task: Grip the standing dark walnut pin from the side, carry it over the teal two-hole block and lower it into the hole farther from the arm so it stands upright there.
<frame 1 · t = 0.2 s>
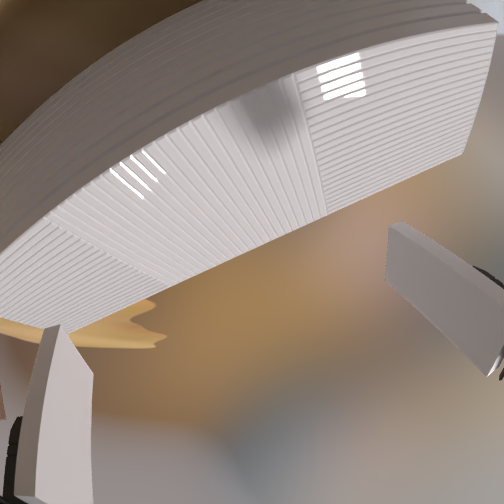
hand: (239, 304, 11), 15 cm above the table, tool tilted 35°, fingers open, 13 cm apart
stack of papers: (172, 89, 19), on the table
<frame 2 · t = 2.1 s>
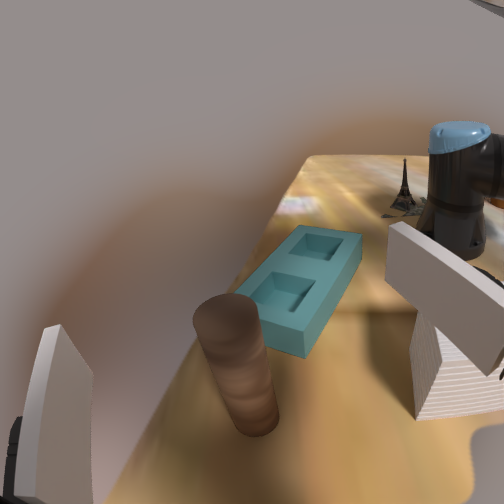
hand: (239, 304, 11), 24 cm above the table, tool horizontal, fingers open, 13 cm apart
eiffel tower figurine: (403, 209, 70), on the table
bore block: (303, 292, 50), on the table
disposable coffee cup: (500, 204, 63), on the table
walnut pin: (256, 417, 32), on the table
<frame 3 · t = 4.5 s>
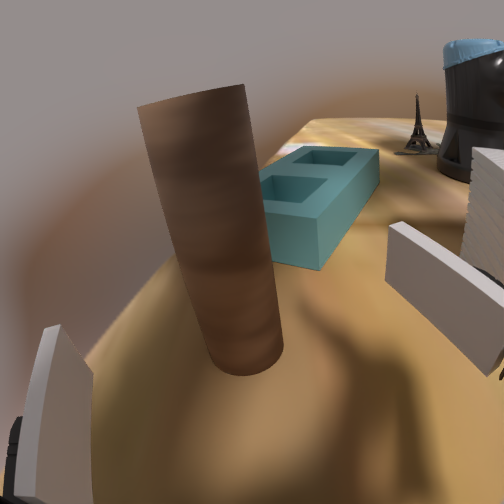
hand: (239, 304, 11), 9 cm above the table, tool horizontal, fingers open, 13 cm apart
eiffel tower figurine: (418, 152, 59), on the table
bore block: (311, 208, 39), on the table
walnut pin: (246, 347, 21), on the table
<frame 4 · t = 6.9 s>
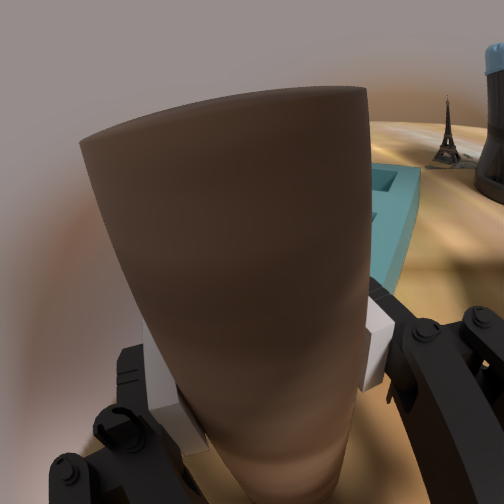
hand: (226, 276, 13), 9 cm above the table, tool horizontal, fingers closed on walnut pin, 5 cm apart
eiffel tower figurine: (447, 164, 51), on the table
bore block: (347, 244, 31), on the table
walnut pin: (290, 471, 13), on the table, touching gripper
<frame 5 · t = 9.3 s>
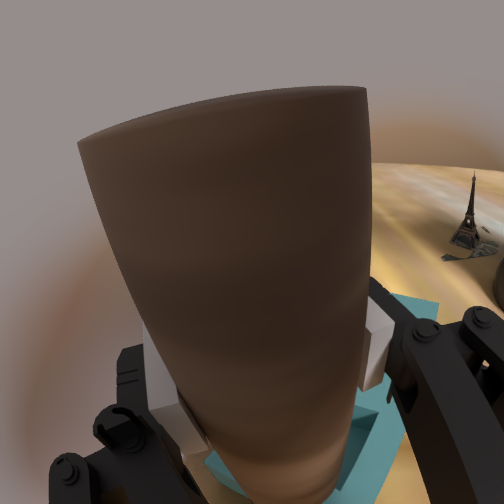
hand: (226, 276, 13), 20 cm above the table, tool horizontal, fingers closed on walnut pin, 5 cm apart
eiffel tower figurine: (465, 245, 46), on the table
bore block: (345, 406, 26), on the table
walnut pin: (289, 472, 13), point 11 cm above the table, touching gripper
when the fingers open (11 cm above the table, at t = 12.0 s): walnut pin stays where it is, resting on bore block.
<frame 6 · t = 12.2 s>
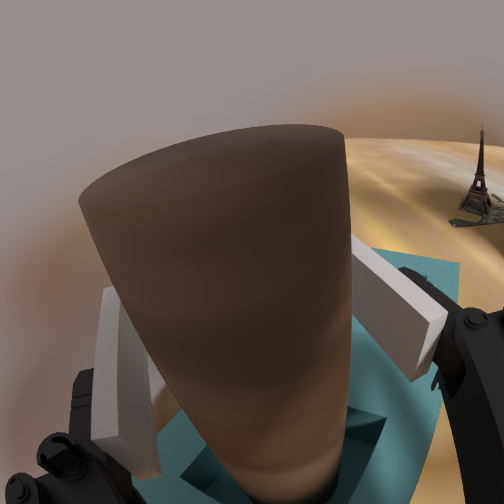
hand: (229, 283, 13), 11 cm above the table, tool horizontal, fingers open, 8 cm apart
eiffel tower figurine: (476, 213, 39), on the table
bore block: (336, 408, 18), on the table
walnut pin: (291, 477, 14), point 2 cm above the table, touching bore block
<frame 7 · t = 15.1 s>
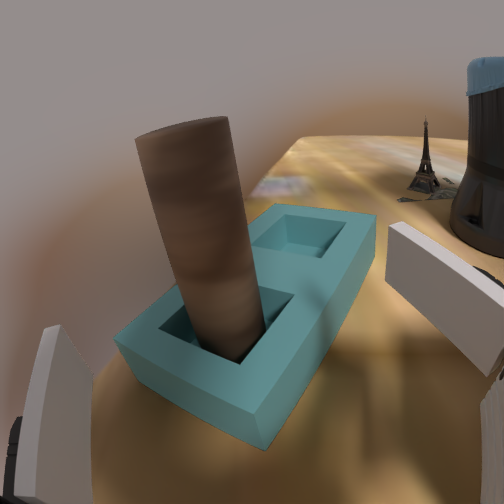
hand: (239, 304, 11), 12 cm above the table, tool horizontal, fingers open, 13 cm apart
eiffel tower figurine: (424, 192, 49), on the table
bore block: (275, 313, 28), on the table
walnut pin: (235, 346, 23), point 2 cm above the table, touching bore block
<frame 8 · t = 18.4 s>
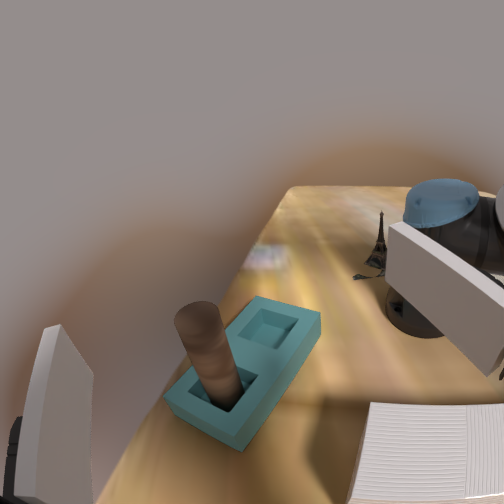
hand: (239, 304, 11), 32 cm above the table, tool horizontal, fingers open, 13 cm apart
eiffel tower figurine: (379, 265, 66), on the table
bore block: (252, 374, 46), on the table
stack of papers: (470, 481, 23), on the table
walnut pin: (228, 397, 42), point 2 cm above the table, touching bore block
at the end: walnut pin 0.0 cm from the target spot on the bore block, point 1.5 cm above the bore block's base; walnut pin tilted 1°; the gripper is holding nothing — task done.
